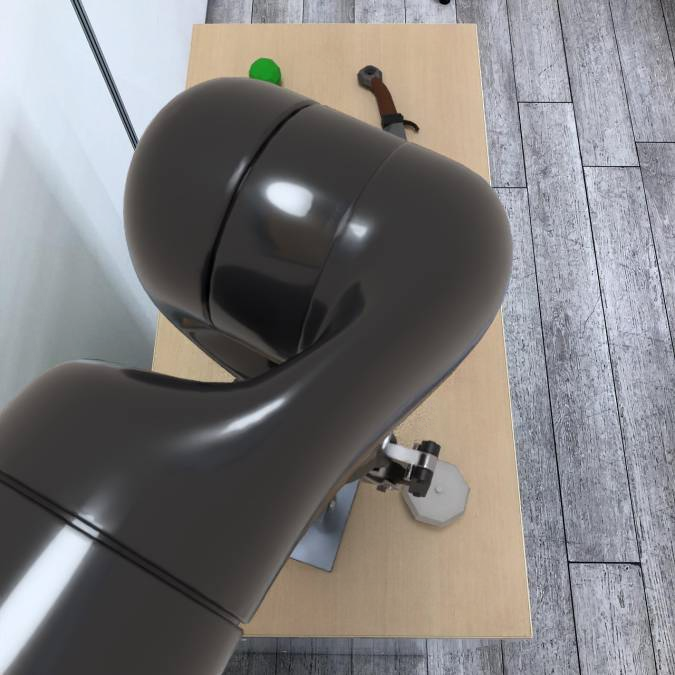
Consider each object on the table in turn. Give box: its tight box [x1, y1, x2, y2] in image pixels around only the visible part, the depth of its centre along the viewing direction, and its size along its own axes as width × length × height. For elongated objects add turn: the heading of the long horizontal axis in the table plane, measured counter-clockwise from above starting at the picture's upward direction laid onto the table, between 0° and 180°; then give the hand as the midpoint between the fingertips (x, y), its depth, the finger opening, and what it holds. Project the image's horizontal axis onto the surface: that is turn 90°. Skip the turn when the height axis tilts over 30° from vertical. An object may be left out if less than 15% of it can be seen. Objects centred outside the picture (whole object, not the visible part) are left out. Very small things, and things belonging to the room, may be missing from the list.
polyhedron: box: [248, 57, 282, 86], centre depth 98 cm, size 5×5×5 cm
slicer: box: [289, 479, 361, 573], centre depth 70 cm, size 12×9×13 cm
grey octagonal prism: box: [402, 459, 471, 528], centre depth 73 cm, size 8×8×7 cm
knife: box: [356, 64, 420, 141], centre depth 95 cm, size 9×2×30 cm
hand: (331, 460), depth 48 cm, fingers open, 8 cm apart
